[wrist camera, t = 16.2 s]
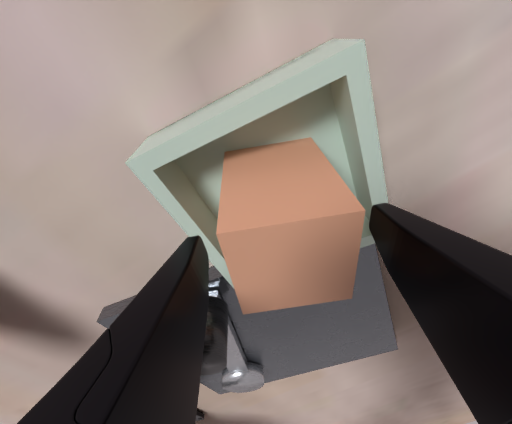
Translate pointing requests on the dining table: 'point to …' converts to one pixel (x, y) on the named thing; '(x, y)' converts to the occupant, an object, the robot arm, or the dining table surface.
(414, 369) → the dining table surface
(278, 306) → the block
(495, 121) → the dining table surface
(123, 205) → the dining table surface
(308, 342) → the base plate
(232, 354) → the crank
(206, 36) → the dining table surface
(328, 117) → the tray
